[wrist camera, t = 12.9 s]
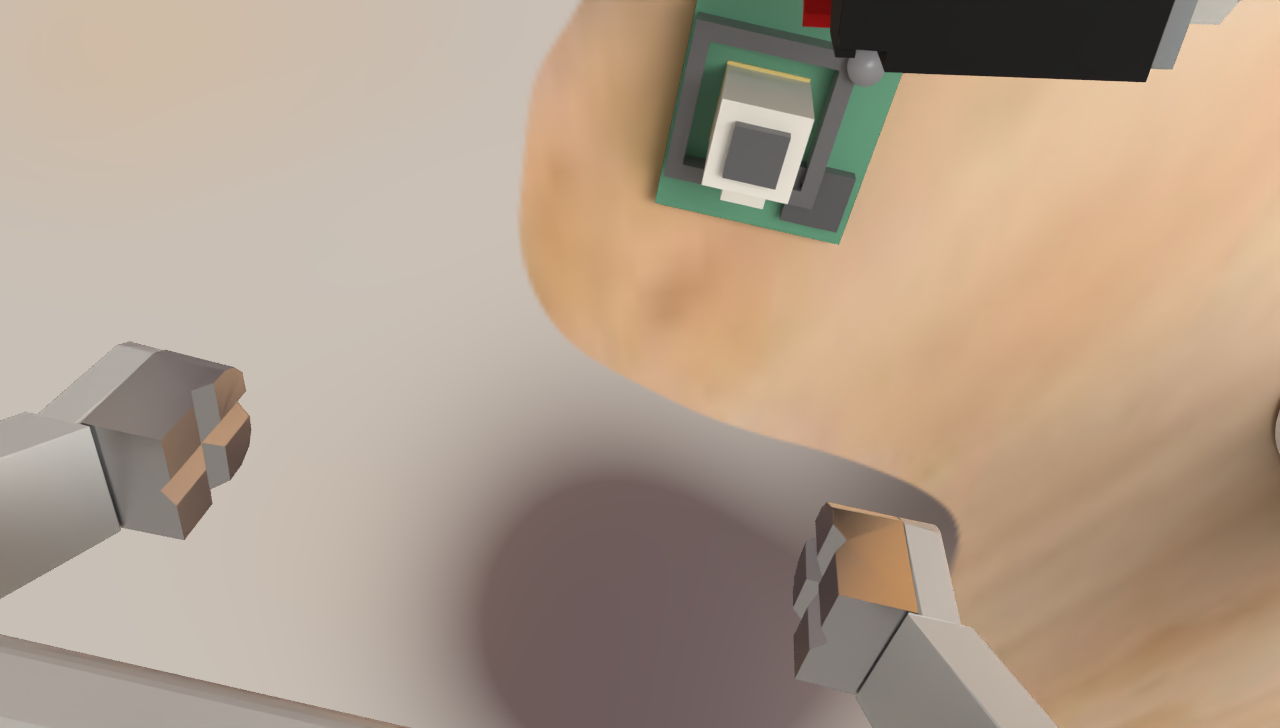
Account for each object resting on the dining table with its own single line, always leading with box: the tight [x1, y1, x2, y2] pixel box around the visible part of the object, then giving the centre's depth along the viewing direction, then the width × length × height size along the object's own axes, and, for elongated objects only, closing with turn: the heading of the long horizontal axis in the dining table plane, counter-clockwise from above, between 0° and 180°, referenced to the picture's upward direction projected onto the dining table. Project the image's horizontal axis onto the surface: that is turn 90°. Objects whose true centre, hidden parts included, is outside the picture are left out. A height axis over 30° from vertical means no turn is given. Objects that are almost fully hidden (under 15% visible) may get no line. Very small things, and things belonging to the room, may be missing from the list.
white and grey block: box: [701, 64, 815, 209], centre depth 38 cm, size 4×5×6 cm
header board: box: [655, 0, 902, 245], centre depth 40 cm, size 10×12×3 cm
